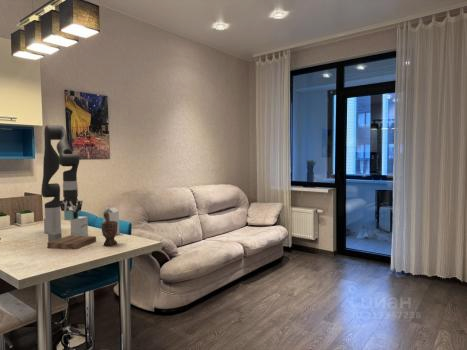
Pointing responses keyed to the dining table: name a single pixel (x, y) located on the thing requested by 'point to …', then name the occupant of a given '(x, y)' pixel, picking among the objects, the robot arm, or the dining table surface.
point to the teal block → (69, 215)
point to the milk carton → (112, 215)
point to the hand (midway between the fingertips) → (71, 218)
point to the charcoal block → (54, 236)
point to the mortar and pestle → (109, 230)
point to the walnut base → (71, 242)
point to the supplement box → (79, 226)
